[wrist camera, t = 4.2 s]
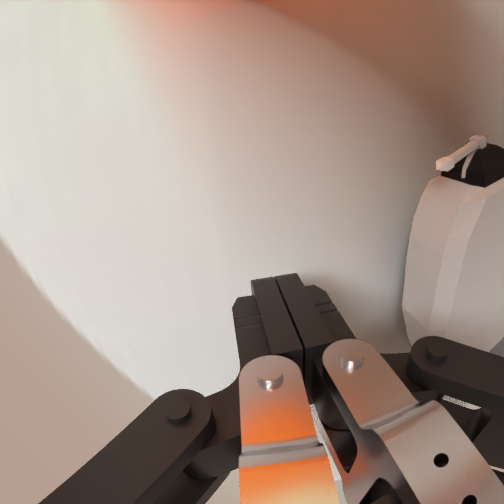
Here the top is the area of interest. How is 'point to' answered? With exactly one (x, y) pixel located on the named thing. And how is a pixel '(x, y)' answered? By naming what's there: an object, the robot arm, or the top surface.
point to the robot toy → (459, 251)
